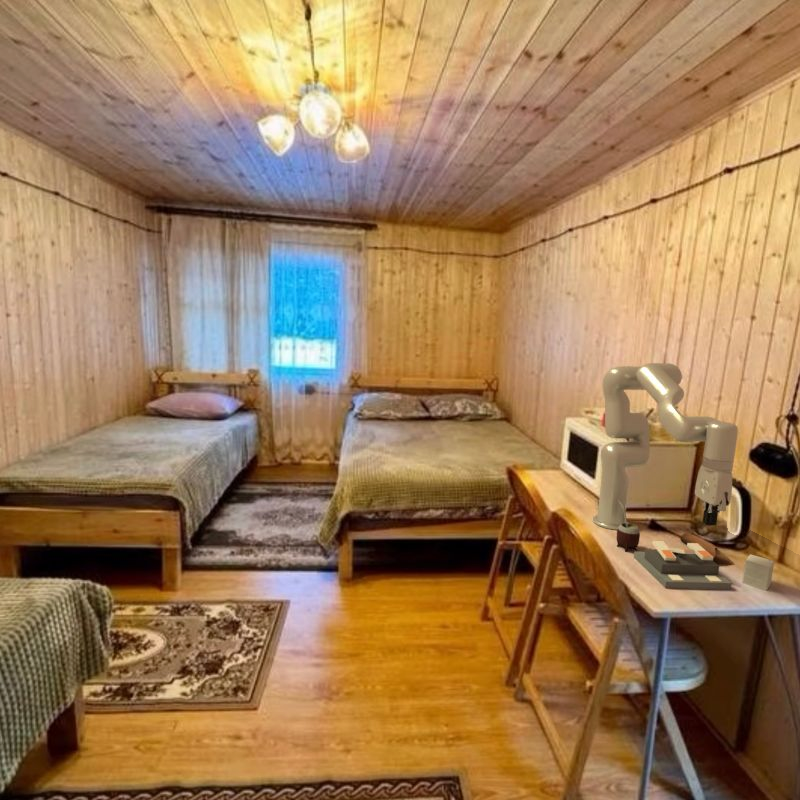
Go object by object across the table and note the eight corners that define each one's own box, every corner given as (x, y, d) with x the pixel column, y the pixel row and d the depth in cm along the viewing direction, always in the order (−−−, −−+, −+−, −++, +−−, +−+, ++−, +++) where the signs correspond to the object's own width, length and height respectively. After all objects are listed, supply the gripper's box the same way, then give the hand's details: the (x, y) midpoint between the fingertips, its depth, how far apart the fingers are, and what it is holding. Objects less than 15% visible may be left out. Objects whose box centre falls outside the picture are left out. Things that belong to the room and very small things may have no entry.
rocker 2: (686, 548, 156) (687, 542, 155) (696, 549, 156) (697, 542, 155) (701, 563, 148) (702, 556, 147) (712, 563, 148) (713, 556, 147)
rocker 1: (651, 546, 155) (652, 540, 155) (661, 546, 155) (663, 540, 155) (664, 563, 148) (665, 557, 147) (674, 563, 148) (676, 557, 147)
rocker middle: (669, 554, 155) (669, 547, 155) (680, 555, 155) (679, 547, 155) (684, 557, 147) (684, 549, 147) (695, 557, 147) (694, 550, 147)
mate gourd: (637, 555, 163) (642, 511, 161) (611, 549, 167) (615, 506, 165) (639, 546, 170) (643, 504, 168) (614, 541, 174) (618, 500, 171)
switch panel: (633, 557, 162) (635, 542, 161) (691, 558, 162) (693, 544, 161) (665, 588, 143) (667, 571, 142) (730, 589, 143) (732, 573, 142)
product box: (747, 576, 151) (750, 553, 150) (771, 584, 147) (775, 561, 146) (741, 582, 147) (745, 559, 146) (766, 591, 143) (770, 567, 142)
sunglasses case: (738, 565, 158) (730, 548, 157) (718, 575, 158) (710, 558, 157) (702, 541, 176) (695, 525, 175) (684, 550, 176) (677, 534, 175)
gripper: (689, 456, 152) (682, 514, 154) (721, 471, 137) (712, 534, 140) (713, 457, 152) (706, 514, 155) (748, 472, 137) (738, 535, 140)
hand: (709, 524), depth 147 cm, fingers closed
